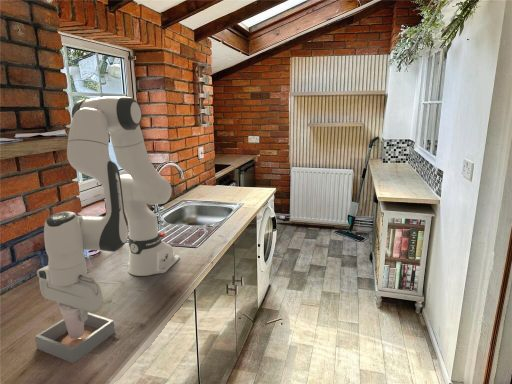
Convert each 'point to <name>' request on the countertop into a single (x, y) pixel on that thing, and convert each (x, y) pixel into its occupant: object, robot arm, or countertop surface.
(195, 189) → the countertop surface
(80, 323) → the smoothie
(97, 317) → the grey open tray
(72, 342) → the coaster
